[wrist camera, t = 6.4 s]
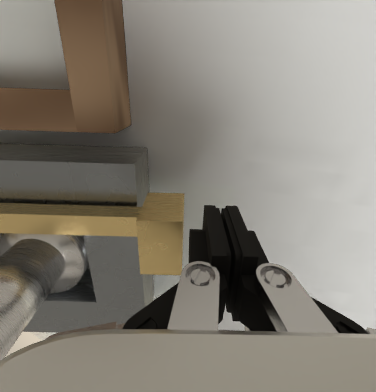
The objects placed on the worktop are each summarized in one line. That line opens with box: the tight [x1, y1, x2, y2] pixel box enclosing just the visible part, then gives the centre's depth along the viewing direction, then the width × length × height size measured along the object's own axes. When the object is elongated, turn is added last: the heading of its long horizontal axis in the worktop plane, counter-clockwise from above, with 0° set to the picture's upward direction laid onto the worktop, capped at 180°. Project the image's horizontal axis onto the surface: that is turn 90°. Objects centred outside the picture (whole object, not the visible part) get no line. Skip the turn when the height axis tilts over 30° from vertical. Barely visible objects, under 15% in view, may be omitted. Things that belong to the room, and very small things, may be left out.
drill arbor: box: [0, 233, 89, 360], centre depth 14 cm, size 6×6×10 cm
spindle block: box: [0, 143, 154, 332], centre depth 17 cm, size 14×14×4 cm
